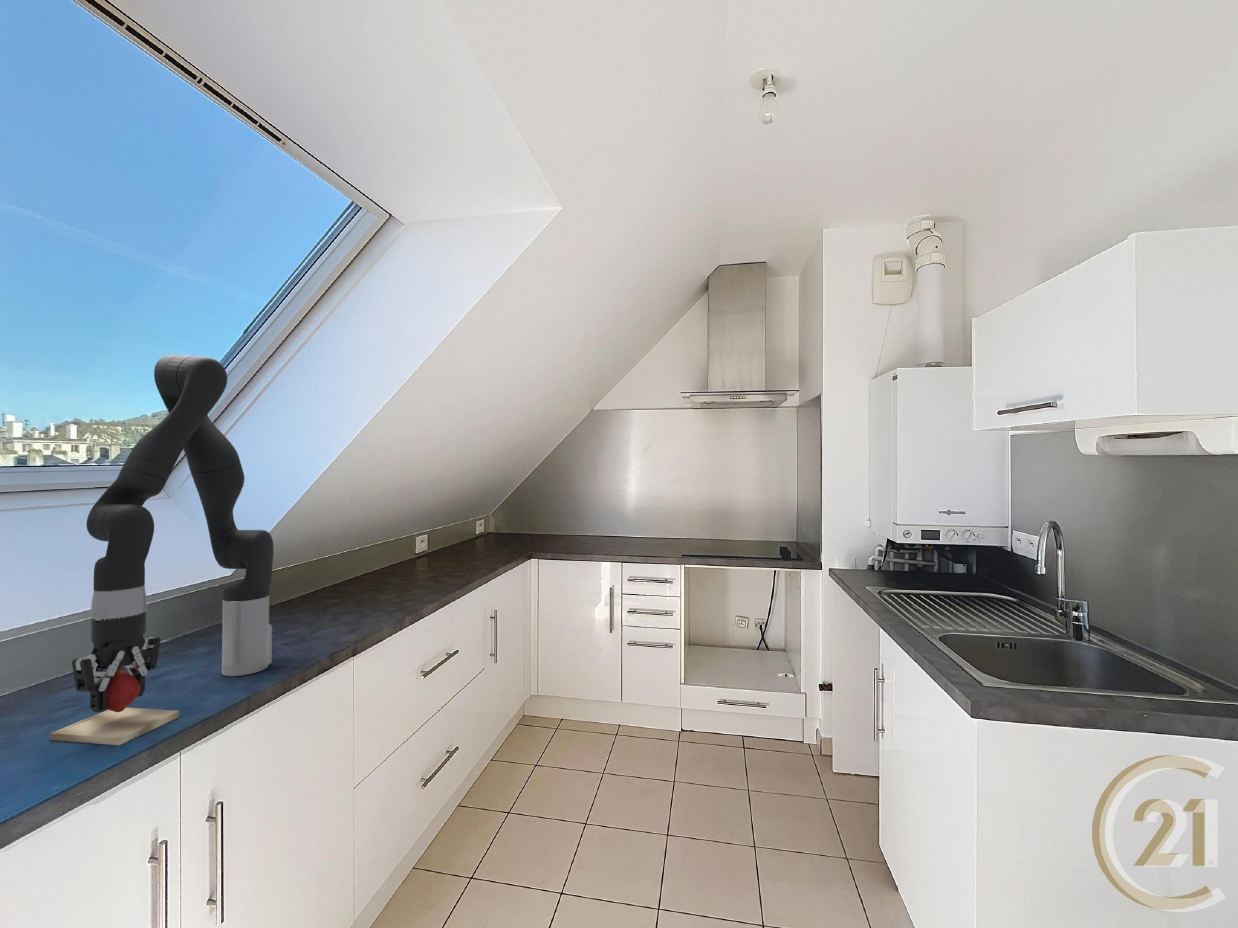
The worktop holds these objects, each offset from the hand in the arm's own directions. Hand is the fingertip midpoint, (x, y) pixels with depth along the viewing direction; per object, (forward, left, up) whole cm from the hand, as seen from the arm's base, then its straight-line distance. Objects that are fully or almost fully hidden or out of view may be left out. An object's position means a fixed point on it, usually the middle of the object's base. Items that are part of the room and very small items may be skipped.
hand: (118, 703), depth 101 cm
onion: (0, 0, -2) cm, 2 cm away
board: (0, 0, -4) cm, 4 cm away
